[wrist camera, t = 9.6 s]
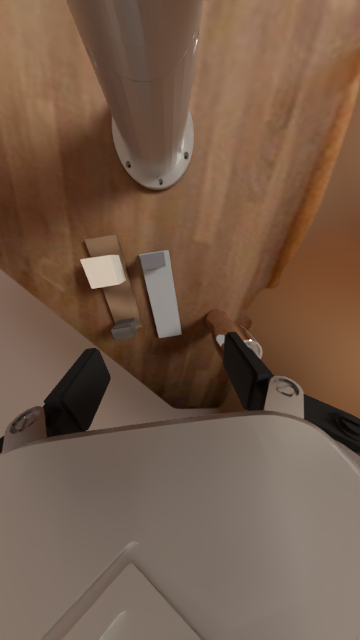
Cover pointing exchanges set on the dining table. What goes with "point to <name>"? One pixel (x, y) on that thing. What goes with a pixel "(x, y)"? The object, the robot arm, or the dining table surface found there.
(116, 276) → the cream block
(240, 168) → the dining table surface
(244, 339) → the beer glass
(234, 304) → the dining table surface
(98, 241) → the brown long piece
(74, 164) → the dining table surface
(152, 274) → the grey strip
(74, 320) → the dining table surface
